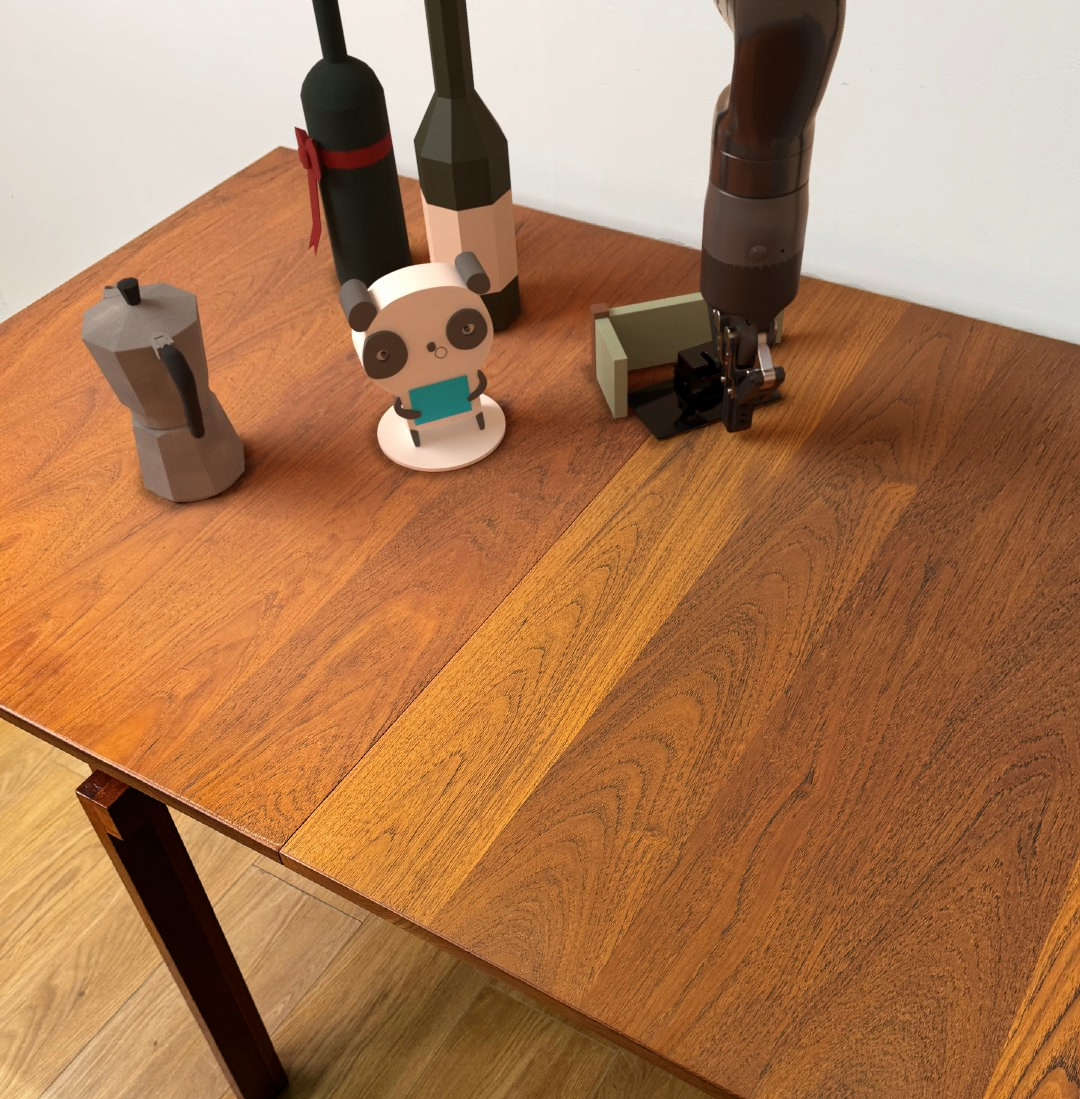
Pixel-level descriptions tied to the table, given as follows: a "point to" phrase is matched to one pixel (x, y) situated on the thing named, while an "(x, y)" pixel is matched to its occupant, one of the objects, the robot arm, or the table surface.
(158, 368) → the coffeepot
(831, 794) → the table surface
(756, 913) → the table surface
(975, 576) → the table surface
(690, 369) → the build plate
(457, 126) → the wine bottle
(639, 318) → the corner rails
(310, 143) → the wine bottle
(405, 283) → the panda figurine
